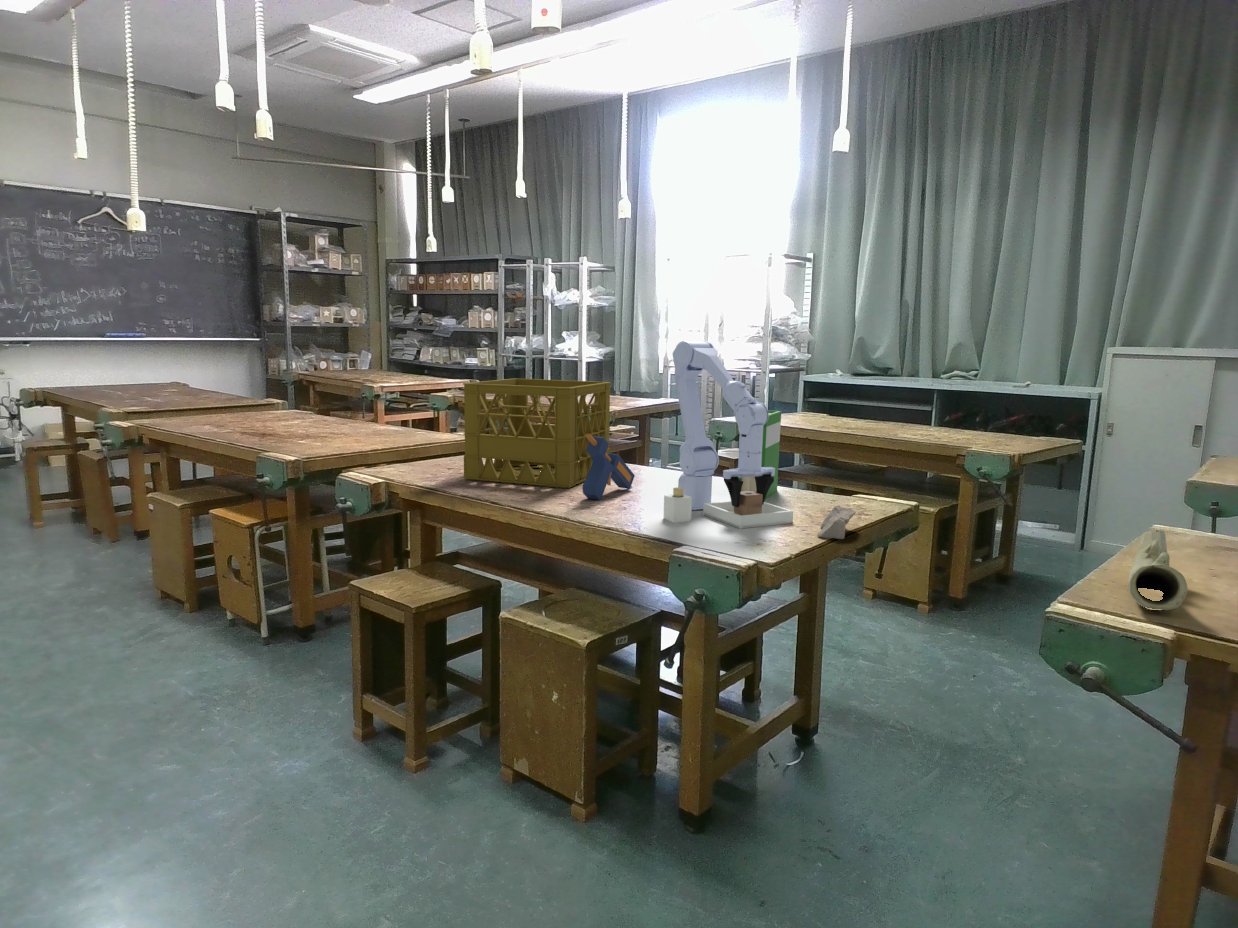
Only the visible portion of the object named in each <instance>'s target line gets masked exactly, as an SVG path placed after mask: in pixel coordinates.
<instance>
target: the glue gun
mask: <svg viewBox="0 0 1238 928" xmlns="http://www.w3.org/2000/svg"><path fill="white" fill-rule="evenodd" d="M586 438H587V439H588V440H589V444H588V447H587V449H586V451H587V452H588V453H589V455H590V456H591V457H592V466H591V468H590V471H589V473H588V475H587V477H586V480H585V481H583V484H582V494H583V495H584V496H585V497H586V499H590V500H598V501H602V498H603V495H604V493H605V490H606V487H607V486H611V485H612V484H611V483H612V482H611V480H612V481H613V483H614V484H615V485H616V486H617V487H618V488H621V489H628V490H630V489H631V488H633V486H632V484H633V481H634V479H635V476H636V475H635V474H634V473H633V472H632V470H631V468H629V466H628V465H627V464H626V463H625V462H624V460H623V459H622V458H621V456H620V455H619V454H617V453H611V452H610V453H606V451H607V448H608V446H609V447H610V442H609V443H608V442H607V441H606V440H605V438H604V437H593V436H591V435H590V434H589V433H588V434H587V435H586Z"/></svg>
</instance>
